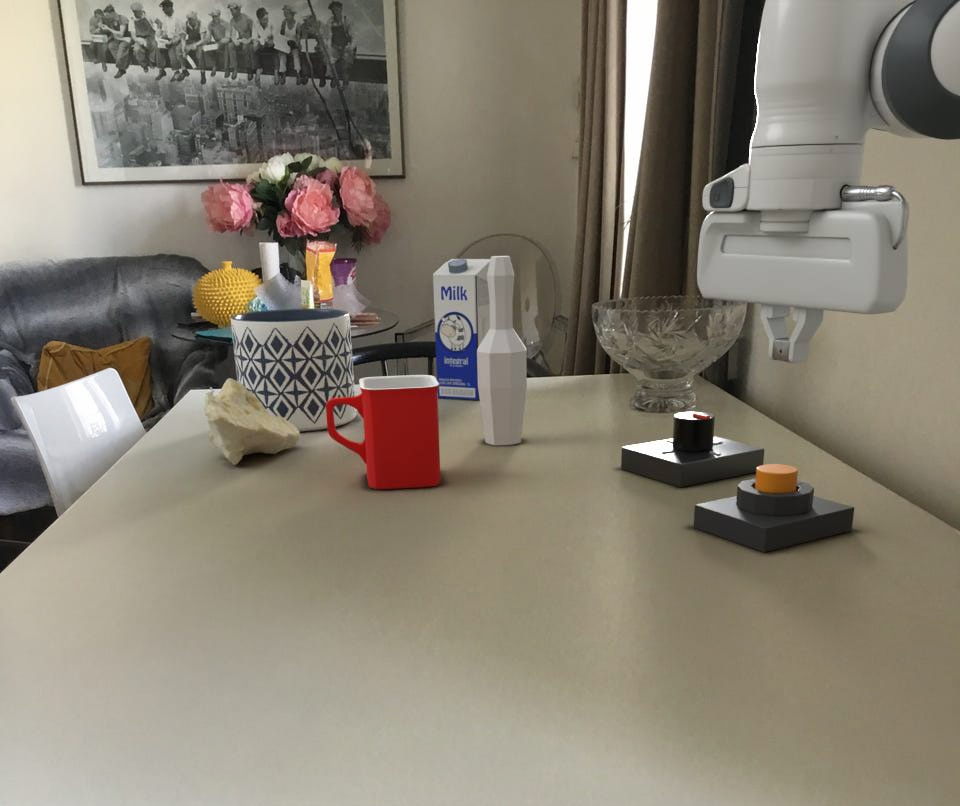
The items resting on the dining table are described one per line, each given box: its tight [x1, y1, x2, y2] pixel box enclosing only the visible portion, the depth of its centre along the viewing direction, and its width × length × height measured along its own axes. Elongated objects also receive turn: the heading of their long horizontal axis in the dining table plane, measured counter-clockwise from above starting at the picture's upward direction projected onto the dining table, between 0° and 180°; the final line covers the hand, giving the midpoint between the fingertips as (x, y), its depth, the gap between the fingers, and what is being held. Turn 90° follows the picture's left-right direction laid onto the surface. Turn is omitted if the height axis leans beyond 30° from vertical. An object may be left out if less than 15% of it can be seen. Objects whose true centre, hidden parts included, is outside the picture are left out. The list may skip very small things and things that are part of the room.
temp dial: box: [672, 411, 716, 452], centre depth 116 cm, size 4×4×4 cm
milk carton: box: [431, 258, 491, 401], centre depth 160 cm, size 7×7×20 cm
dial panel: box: [620, 435, 765, 488], centre depth 117 cm, size 12×10×3 cm
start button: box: [755, 463, 799, 493], centre depth 95 cm, size 4×4×2 cm
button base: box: [693, 477, 855, 553], centre depth 96 cm, size 11×9×4 cm
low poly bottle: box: [477, 255, 528, 446], centre depth 129 cm, size 6×6×22 cm
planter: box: [230, 308, 357, 432], centre depth 145 cm, size 16×16×14 cm
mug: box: [326, 374, 442, 490], centre depth 114 cm, size 12×8×11 cm
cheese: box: [203, 377, 301, 466], centre depth 126 cm, size 15×7×15 cm
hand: (787, 361), depth 91 cm, fingers closed
